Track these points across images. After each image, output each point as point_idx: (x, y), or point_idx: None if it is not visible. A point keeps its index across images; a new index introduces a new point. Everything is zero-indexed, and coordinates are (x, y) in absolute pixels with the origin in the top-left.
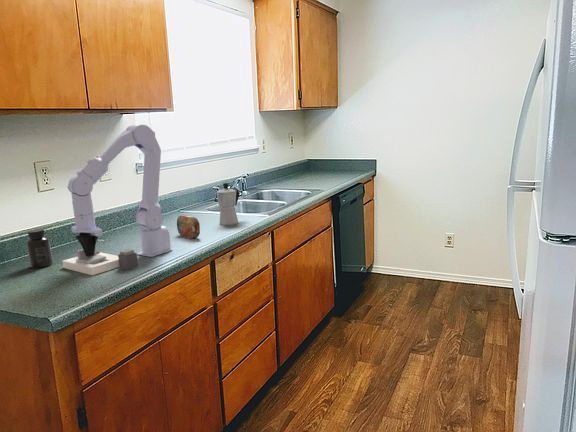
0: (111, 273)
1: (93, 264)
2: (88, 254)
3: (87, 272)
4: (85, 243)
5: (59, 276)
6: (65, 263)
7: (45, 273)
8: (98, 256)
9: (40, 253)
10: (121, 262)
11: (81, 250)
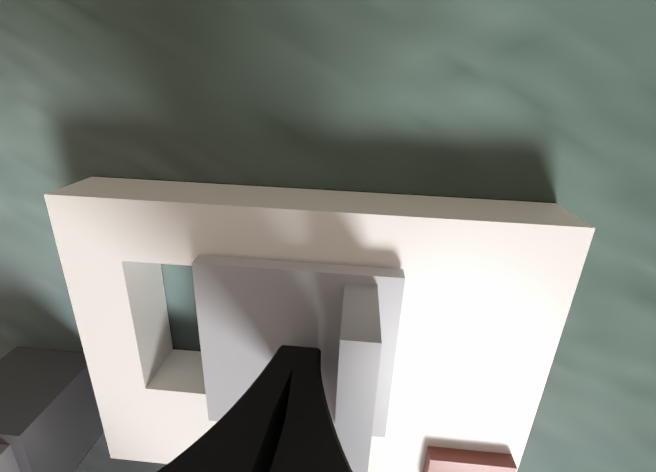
0: (25, 264)
1: None
2: (273, 362)
3: (151, 184)
4: (180, 457)
5: (338, 18)
6: (522, 216)
7: (596, 5)
8: None
9: None
10: (35, 385)
11: (339, 373)
